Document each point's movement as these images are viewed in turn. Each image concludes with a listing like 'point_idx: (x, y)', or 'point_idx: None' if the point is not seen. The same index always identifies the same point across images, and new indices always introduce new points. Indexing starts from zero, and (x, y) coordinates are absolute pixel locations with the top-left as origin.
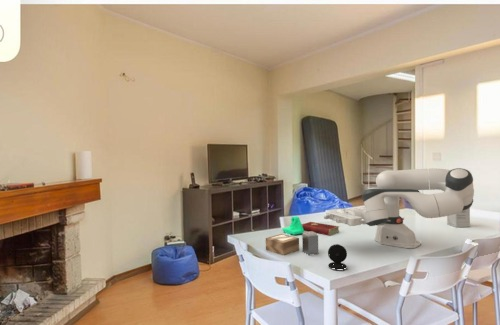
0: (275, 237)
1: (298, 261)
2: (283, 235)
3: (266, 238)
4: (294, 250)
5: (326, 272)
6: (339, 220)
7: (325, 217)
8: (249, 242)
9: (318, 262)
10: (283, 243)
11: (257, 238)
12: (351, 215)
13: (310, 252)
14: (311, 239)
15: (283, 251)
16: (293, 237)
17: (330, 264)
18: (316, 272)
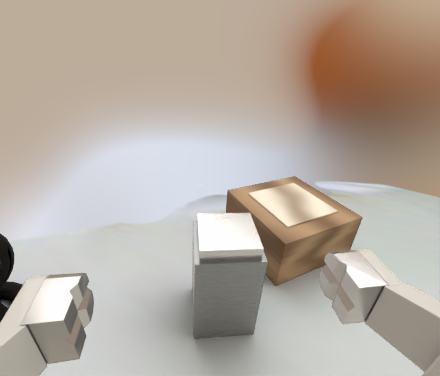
0: (296, 190)
1: (150, 237)
2: (327, 212)
3: (291, 177)
4: None
5: None
6: (22, 309)
7: (326, 264)
8: (365, 199)
9: (97, 284)
10: (228, 192)
11: (423, 221)
12: None
13: (192, 288)
14: (193, 246)
15: None
16: (298, 231)
17: (13, 288)
18: (36, 241)
